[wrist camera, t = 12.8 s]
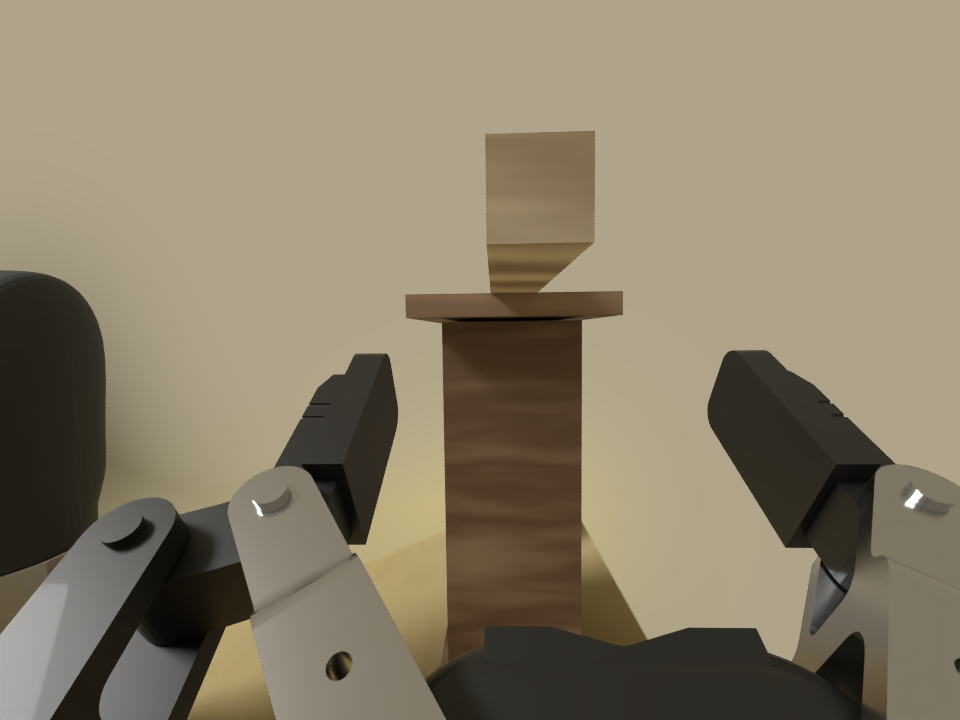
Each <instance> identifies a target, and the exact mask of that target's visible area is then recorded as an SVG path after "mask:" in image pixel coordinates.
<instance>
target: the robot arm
mask: <svg viewBox="0 0 960 720" xmlns="http://www.w3.org/2000/svg"><path fill="white" fill-rule="evenodd" d="M105 375H106V374H105V354H104V346H103V339H102V335H101V331H100V328H99V324H98V322H97V319H96V317H95V315H94V313H93V311H92V309H91V307H90V306H89V304H88V302H87V301H86V300H85V299H84V297H83V296H82V295H81V294H80V293H79V292H78V291H77V290H76V289H74V288H73V287H72V286H71V285H69V284H68V283H66V282H64V281H62V280H60V279H58V278H55V277H52V276H49V275H45V274H41V273H34V272H26V271H0V720H187V718H188V715H189V713H190V711H191V708H192V706H193V703H194V701H195V699H196V696H197V694H198V692H199V689H200V687H201V684H202V682H203V680H204V677H205V675H206V673H207V670H208V668H209V665H210V663H211V661H212V658H213V656H214V654H215V651H216V649H217V647H218V644H219V642H220V639H221V637H222V635H223V632H224V630H225V628H226V626H229V625H233V624H236V623H239V622H242V621H245V620H248V619H250V621H251V627H252V632H253V636H254V640H255V643H256V647H257V651H258V655H259V658H260V662H261V666H262V669H263V673H264V677H265V681H266V684H267V688H268V692H269V696H270V699H271V703H272V707H273V711H274V714H275V718H276V720H960V487H959V486H958V485H956V484H954V483H953V482H951V481H949V480H947V479H946V478H944V477H941V476H939V475H937V474H935V473H932V472H929V471H927V470H923V469H920V468H917V467H913V466H908V465H897V464H895V463H894V462H893V461H892V460H891V459H890V458H889V457H888V456H886V454H885V453H884V452H883V451H882V450H881V449H880V448H879V447H877V446H876V445H875V444H874V443H873V442H872V441H871V440H870V439H869V438H868V437H867V436H866V435H865V434H864V433H863V432H862V431H861V430H860V429H859V428H858V427H857V426H856V425H855V424H854V423H853V422H852V421H851V420H850V419H849V418H847V417H844V416H843V413H842V412H841V411H840V410H839V409H838V408H837V407H836V406H835V405H834V404H830V400H829V399H828V398H827V397H826V396H825V395H824V394H823V393H822V392H821V391H820V390H819V389H817V388H816V387H815V386H814V385H813V384H811V383H810V382H808V381H806V380H804V379H803V378H801V377H799V376H798V375H795V374H794V373H792V372H791V371H788V370H786V368H785V367H784V366H783V365H782V364H781V363H780V362H779V361H777V359H776V358H775V357H773V355H772V354H771V353H769V352H768V351H765V350H749V351H748V350H746V351H729V352H728V353H727V354H726V355H725V356H724V358H723V361H722V364H721V367H720V370H719V373H718V375H717V378H716V382H715V384H714V387H713V390H712V393H711V396H710V399H709V402H708V420H709V423H710V426H711V428H712V430H713V431H714V433H715V435H716V436H717V438H718V439H719V441H720V443H721V444H722V446H723V448H724V449H725V451H726V452H727V454H728V456H729V457H730V459H731V460H732V462H733V464H734V465H735V467H736V468H737V470H738V472H739V473H740V475H741V477H742V478H743V480H744V481H745V483H746V485H747V486H748V488H749V489H750V491H751V493H752V494H753V496H754V497H755V499H756V501H757V502H758V504H759V506H760V507H761V509H762V510H763V512H764V514H765V515H766V517H767V518H768V520H769V522H770V523H771V525H772V526H773V528H774V530H775V531H776V533H777V534H778V536H779V538H780V539H781V541H782V543H783V544H784V546H785V547H786V548H813V549H814V550H815V551H816V553H817V554H818V557H817V559H816V560H815V562H814V563H813V565H812V568H811V574H810V580H809V586H808V592H807V597H806V603H805V609H804V615H803V621H802V627H801V633H800V639H799V643H798V647H797V650H796V653H795V655H794V658H793V660H792V662H791V661H789V660H786V659H784V658H781V657H779V656H776V655H773V654H770V653H767V650H766V648H765V646H764V644H763V642H762V640H761V638H760V636H759V633H758V631H757V630H756V628H686V629H683V630H679V631H676V632H673V633H670V634H666V635H663V636H660V637H657V638H653V639H650V640H646V641H643V642H640V643H636V644H633V645H629V646H618V645H614V644H610V643H607V642H603V641H600V640H596V639H593V638H589V637H585V636H582V635H578V634H575V633H571V632H568V631H564V630H561V629H557V628H554V627H549V626H485V639H484V646H482V647H479V648H476V649H472V650H470V651H468V652H465V653H463V654H461V655H459V656H457V657H455V658H453V659H452V660H450V661H448V662H447V663H445V664H444V665H442V666H441V667H439V668H438V669H437V670H436V671H435V672H433V673H432V674H431V675H430V676H429V677H427V678H426V679H424V677H423V675H422V674H421V672H420V670H419V668H418V666H417V664H416V662H415V660H414V659H413V657H412V655H411V653H410V651H409V649H408V647H407V646H406V644H405V642H404V640H403V638H402V636H401V634H400V632H399V631H398V629H397V627H396V625H395V623H394V621H393V619H392V618H391V616H390V614H389V612H388V610H387V608H386V606H385V604H384V603H383V601H382V599H381V597H380V595H379V593H378V591H377V590H376V588H375V586H374V584H373V582H372V580H371V578H370V576H369V575H368V573H367V571H366V569H365V567H364V565H363V564H362V562H361V560H360V559H359V557H358V556H357V554H356V553H354V554H352V552H351V550H350V549H349V547H348V545H349V544H350V545H352V544H353V545H354V544H357V545H361V544H362V545H363V544H364V545H365V544H366V541H367V537H368V534H369V530H370V526H371V523H372V519H373V515H374V511H375V508H376V504H377V500H378V496H379V492H380V489H381V485H382V481H383V477H384V474H385V470H386V466H387V462H388V459H389V455H390V451H391V447H392V444H393V440H394V436H395V432H396V428H397V422H398V406H397V399H396V393H395V387H394V382H393V375H392V369H391V363H390V359H389V356H388V355H387V354H356V355H354V357H353V359H352V361H351V363H350V366H349V367H348V369H347V371H346V373H345V375H333V376H331V377H330V378H329V379H328V380H327V381H326V382H324V383H323V384H322V385H321V386H320V387H318V389H317V390H316V392H315V394H314V396H313V398H312V400H311V401H310V403H309V404H310V406H308V407H307V409H306V411H305V412H304V414H303V416H302V417H303V418H302V419H301V420H300V421H299V423H298V425H297V427H296V429H295V430H294V432H293V434H292V436H291V438H290V439H289V442H288V443H287V445H286V447H285V449H284V450H283V452H282V454H281V456H280V458H279V460H278V461H277V463H276V465H275V467H274V468H272V469H269V470H266V471H263V472H261V473H259V474H257V475H255V476H254V477H252V478H250V479H249V480H248V481H246V482H245V483H244V484H243V485H242V486H241V487H240V488H239V489H238V490H237V491H236V492H235V494H234V495H233V497H232V499H231V500H230V501H229V502H226V503H223V504H219V505H215V506H212V507H207V508H203V509H200V510H195V511H192V512H188V513H184V514H180V515H179V514H178V512H177V511H176V509H175V507H174V506H173V505H172V503H170V502H169V501H167V500H165V499H162V498H144V499H139V500H135V501H132V502H129V503H126V504H124V505H122V506H120V507H118V508H116V509H114V510H112V511H110V512H109V513H107V514H105V515H104V516H102V517H101V518H100V519H98V501H99V496H100V492H101V489H102V484H103V480H104V475H105V468H106V441H105V394H106V376H105Z"/></svg>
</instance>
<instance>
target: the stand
mask: <svg viewBox="0 0 960 720" xmlns="http://www.w3.org/2000/svg"><path fill="white" fill-rule="evenodd" d="M617 315H623V291H609V292H608V291H607V292H606V291H605V292H550V293H549V292H543V293H485V294H484V293H481V294H417V295H406V318H411V319H418V320H425V321H430V322H437V323H442V344H443V396H444V446H445V447H444V449H445V500H446V501H445V503H446V556H447V609H448V627H447V633H446V640H445V646H444V652H443V659H442V665H444V664H445V663H447V662H448V661H450V660H452V659H453V658H455V657H457V656H459V655H461V654H463V653H465V652H468V651H470V650H472V649H476V648H479V647H482V646H484V639H485V626H549V627H554V628H557V629H561V630H564V631H568V632H571V633H575V634H578V635H581V434H582V432H581V429H582V426H581V424H582V421H581V420H582V419H581V417H582V416H581V415H582V412H581V411H582V408H581V407H582V391H581V390H582V388H581V387H582V320H585V319H593V318H601V317H609V316H617ZM442 665H441V666H442Z"/></svg>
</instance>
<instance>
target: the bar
mask: <svg viewBox="0 0 960 720" xmlns="http://www.w3.org/2000/svg"><path fill="white" fill-rule="evenodd" d="M485 137H486V139H485V141H486V224H487V254H488V266H489V276H490V277H489V278H490V290H491V293H537V292H539V291H540V290H541V289H542V288H543V287H544V286H545V285H546V284H547V283H549V281H551V280H552V279H553V278H554V277H556V275H558V274H559V273H560V272H561V271H562V270H563V269H565V268H566V267H567V266H568V265H569V264H570V263H571V262H572V261H573V260H575V259H576V258H577V257H578V256H579V255H580V254H581V253H583V252H584V251H585V250H586V249H587V248H588V247H589V246H590V245H592V244H593V243H594V202H595V199H594V198H595V197H594V196H595V195H594V194H595V190H594V188H595V131H579V132H578V131H577V132H544V133H542V132H540V133H508V134H485Z"/></svg>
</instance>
